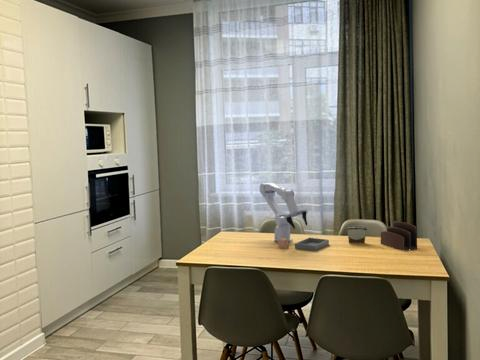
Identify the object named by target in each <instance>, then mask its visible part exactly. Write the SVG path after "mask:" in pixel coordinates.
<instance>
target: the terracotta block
mask: <svg viewBox="0 0 480 360" xmlns="http://www.w3.org/2000/svg"><path fill="white" fill-rule="evenodd" d="M288 247H289V242H288V239H286V238H280V239H278V241H277V248H279V249H287V248H288Z"/></svg>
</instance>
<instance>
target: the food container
mask: <svg viewBox="0 0 480 360" xmlns="http://www.w3.org/2000/svg"><path fill="white" fill-rule="evenodd" d="M345 231H347V236H348V237H347V238H348V244H365V243H366V234H367V231H368V228H367V226H365V225H356V224H355V225H353V224H352V225H348V226H347V227H346V230H345Z"/></svg>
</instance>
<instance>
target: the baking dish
mask: <svg viewBox="0 0 480 360" xmlns="http://www.w3.org/2000/svg"><path fill="white" fill-rule="evenodd" d="M329 245H330V240H329V239H324V238H314V237H307V238H304V239H302V240H300V241H297V242H294V249H296V250H304V251H311V252H317V251H318V250H320V249H323V248H325V247H328V246H329Z"/></svg>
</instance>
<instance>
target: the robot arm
mask: <svg viewBox="0 0 480 360" xmlns="http://www.w3.org/2000/svg"><path fill="white" fill-rule="evenodd" d="M259 193H260V194H261V196H262V197H263V198H264V201H265V202H266V203H267V205H268V206H269V208H270V209H271V211H272V212H273V214H274V215H275V216H274V222H275V225H276V226H275V227H274V240H273V241H275V242H278V239H280V238H286V239H288V243H290V242H291V241H293V240H294V239H293V238H291V228H292V229H293V230H295V229H296V225H295V224H294V218H295V217H299V216H301V217H302V220H303V222H304V224H305V226H307V225H308V221H307V214H308V209H307V208H305V209H299V207H298V204H297V202H296V200H295V191H294V190H293V189H288V188H287V187H284V186H283V185H279V186H278V185H276V183H274V182H270V183H260V184H259ZM276 195H277V196H279V197H281V199H282V200H283V201H284V203H285V204H286V207H287V209H288V211H289V213H288V212H285V211H283V209H282V208H281V206H280V205H279V203H278V202H277V201H276V200H275V196H276Z"/></svg>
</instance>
